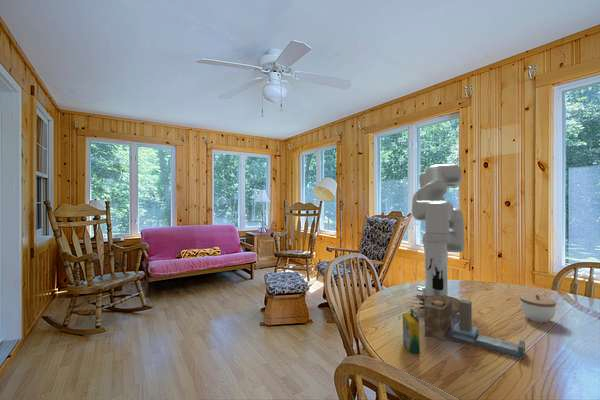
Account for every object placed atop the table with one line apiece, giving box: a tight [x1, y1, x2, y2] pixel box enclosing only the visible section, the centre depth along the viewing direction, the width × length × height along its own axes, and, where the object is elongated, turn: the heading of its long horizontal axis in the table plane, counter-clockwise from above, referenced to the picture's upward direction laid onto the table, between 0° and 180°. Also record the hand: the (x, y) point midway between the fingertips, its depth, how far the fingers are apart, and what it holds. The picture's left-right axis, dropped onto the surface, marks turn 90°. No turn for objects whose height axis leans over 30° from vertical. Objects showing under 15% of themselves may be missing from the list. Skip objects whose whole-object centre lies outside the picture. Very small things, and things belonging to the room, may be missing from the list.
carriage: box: [453, 299, 479, 343], centre depth 98 cm, size 6×7×11 cm
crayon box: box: [402, 307, 421, 355], centre depth 93 cm, size 7×3×12 cm, turn 178°
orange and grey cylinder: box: [433, 300, 443, 307], centre depth 103 cm, size 3×3×7 cm
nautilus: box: [407, 294, 461, 316], centre depth 121 cm, size 8×22×15 cm
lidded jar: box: [519, 294, 557, 323], centre depth 113 cm, size 11×11×9 cm
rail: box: [445, 326, 526, 360], centre depth 94 cm, size 21×5×3 cm, turn 48°
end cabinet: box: [423, 299, 453, 341], centre depth 103 cm, size 6×10×10 cm, turn 138°
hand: (437, 289), depth 104 cm, fingers closed
